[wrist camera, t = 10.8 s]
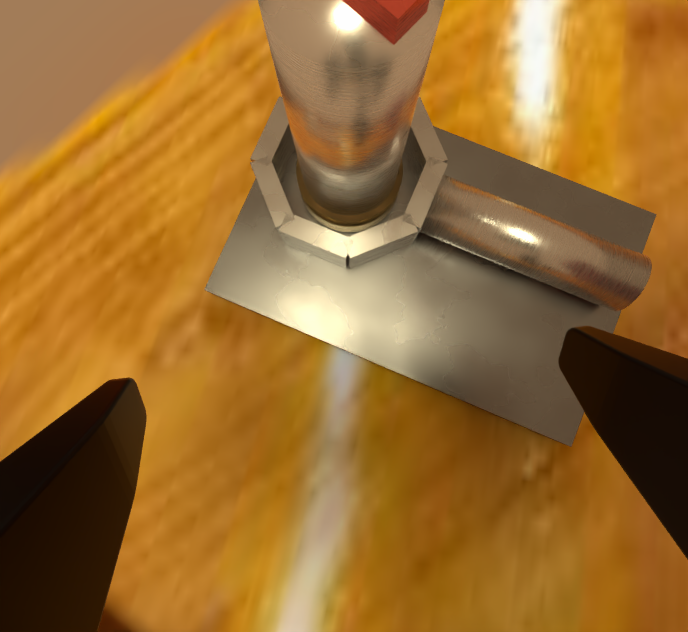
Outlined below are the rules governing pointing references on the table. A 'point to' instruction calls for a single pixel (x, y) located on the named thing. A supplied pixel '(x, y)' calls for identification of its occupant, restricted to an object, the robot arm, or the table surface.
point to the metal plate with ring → (444, 270)
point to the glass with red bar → (350, 97)
